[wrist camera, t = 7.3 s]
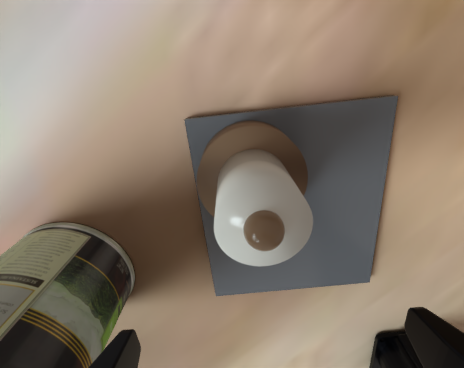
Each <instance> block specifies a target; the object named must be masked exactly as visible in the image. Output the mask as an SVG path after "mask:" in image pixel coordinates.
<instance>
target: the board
mask: <svg viewBox="0 0 464 368" xmlns="http://www.w3.org/2000/svg"><path fill="white" fill-rule="evenodd" d="M397 100H398V96H394V95H391V96H382V97H373V98H364V99H355V100H346V101H337V102H328V103H319V104H310V105H301V106H292V107H283V108H274V109H265V110H256V111H247V112H238V113H229V114H220V115H211V116H202V117H193V118H186V119H185V126H186V131H187V137H188V142H189V148H190V153H191V159H192V165H193V170H194V176H195V181H196V187H197V172H198V168H199V165H200V161H201V158H202V155H203V152H204V150H205V148H206V146H207V144H208V143H209V141H210V140H211V139H212V138H213V136H214V135H215V134H216V133H218V132H219V131H220V130H222V129H223V128H225V127H226V126H229V125H231V124H233V123H236V122H241V121H250V120H253V121H261V122H265V123H268V124H270V125H273V126H274V127H276V128H278V129H279V130H281V131H282V132H283V133H284V134H285V135H286V136H287V137H288V138H289V139H290V140H291V141H292V142H293V143H294V144H295V145H296V146H297V147H298V149H299V150H300V151H301V153H302V155H303V157H304V159H305V162H306V165H307V170H308V183H307V188H306V192H305V194H304V198H305V199H306V201H307V203H308V204H309V206H310V209H311V211H312V216H313V227H312V232H311V235H310V237H309V239H308V241H307V243H306V244H305V245H304V247H303V248H302V249H301V250H300V251H299V252H298V253H297V254H295V255H294V256H293V257H291V258H290V259H288V260H286V261H284V262H281V263H278V264H275V265H270V266H251V265H246V264H242V263H240V262H237V261H236V260H234V259H232V258H231V257H229V256H228V255H227V254H226V253H225V252H224V251H223V250H222V249H221V248H220V246H219V245H218V243H217V240H216V238H215V234H214V217H213V216H212V215H211V214H210V213H209V212H208V211H207V210H206V208H205V207H204V205H203V203H202V202H201V199H200V197H199V194H198V198H199V204H200V209H201V215H202V221H203V226H204V232H205V237H206V243H207V249H208V254H209V260H210V265H211V271H212V276H213V282H214V288H215V293H216V296H223V295H234V294H245V293H256V292H268V291H279V290H290V289H301V288H312V287H323V286H334V285H345V284H356V283H367V282H370V276H371V269H372V263H373V256H374V250H375V243H376V237H377V230H378V224H379V217H380V211H381V204H382V198H383V191H384V185H385V178H386V171H387V165H388V158H389V152H390V145H391V139H392V132H393V126H394V119H395V113H396V106H397ZM197 193H198V190H197Z"/></svg>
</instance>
